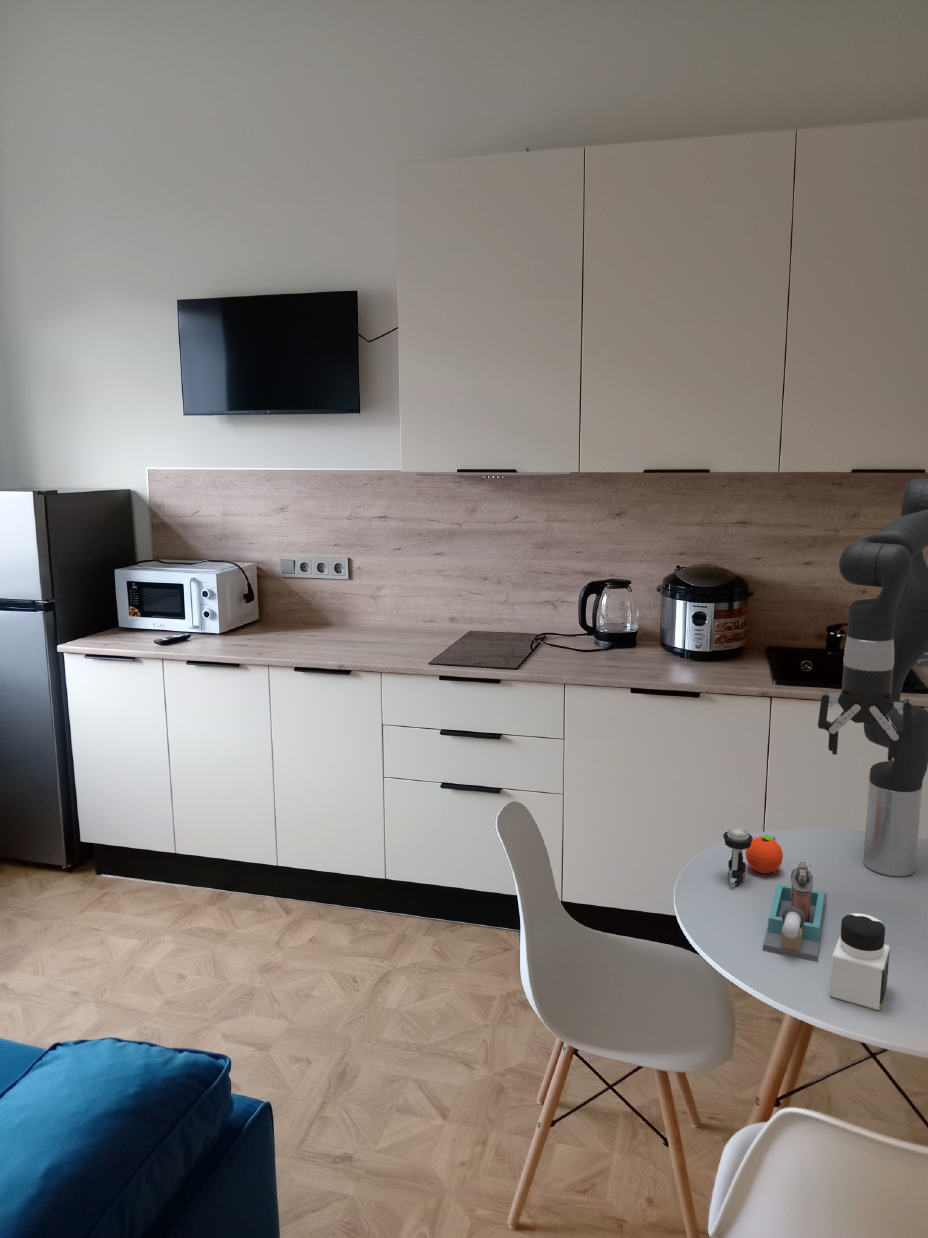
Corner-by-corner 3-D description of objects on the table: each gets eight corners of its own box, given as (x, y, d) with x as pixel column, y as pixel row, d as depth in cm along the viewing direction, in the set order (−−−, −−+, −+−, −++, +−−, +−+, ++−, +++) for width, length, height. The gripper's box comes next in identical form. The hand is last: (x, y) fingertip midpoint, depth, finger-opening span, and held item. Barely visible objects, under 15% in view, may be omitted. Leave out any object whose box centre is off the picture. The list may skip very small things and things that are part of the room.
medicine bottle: (880, 1012, 132) (886, 938, 130) (829, 997, 136) (833, 925, 134) (887, 987, 138) (892, 915, 136) (837, 973, 142) (842, 903, 140)
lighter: (790, 906, 160) (792, 854, 158) (810, 909, 159) (813, 857, 157) (788, 929, 153) (791, 875, 151) (810, 933, 152) (813, 878, 150)
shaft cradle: (778, 886, 169) (780, 853, 168) (826, 895, 166) (829, 861, 164) (761, 954, 148) (763, 916, 146) (816, 965, 144) (819, 927, 143)
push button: (745, 892, 167) (747, 843, 165) (716, 886, 170) (718, 837, 168) (753, 877, 173) (755, 829, 171) (725, 871, 176) (727, 823, 174)
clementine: (757, 857, 181) (759, 824, 180) (790, 868, 176) (792, 834, 175) (738, 871, 175) (739, 838, 174) (772, 883, 171) (773, 848, 169)
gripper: (916, 661, 149) (908, 754, 152) (823, 654, 155) (818, 744, 158) (917, 672, 142) (909, 769, 145) (820, 665, 148) (814, 758, 151)
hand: (861, 756), depth 151 cm, fingers open, 8 cm apart
